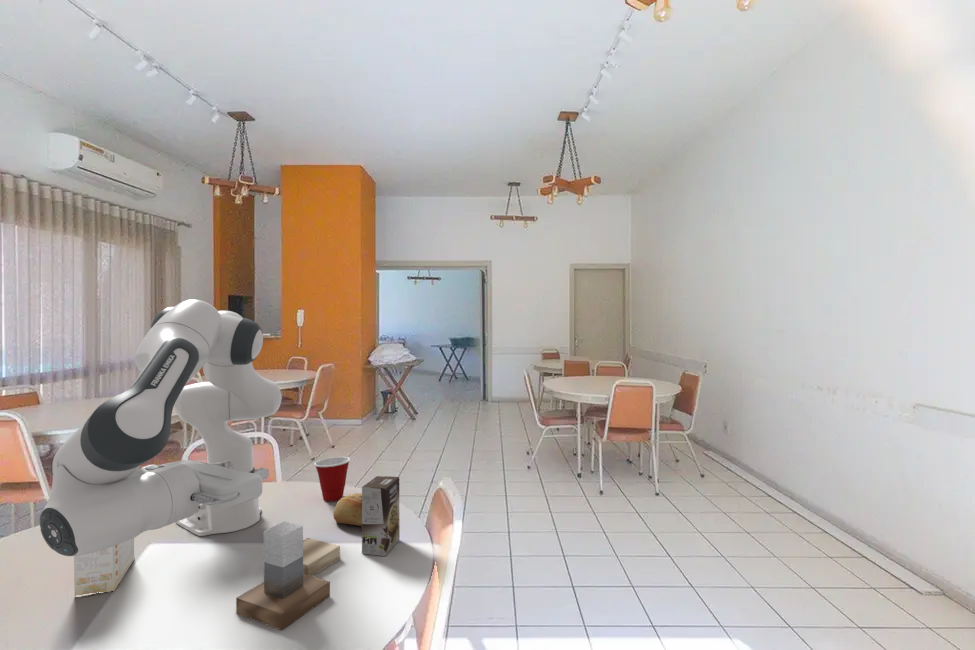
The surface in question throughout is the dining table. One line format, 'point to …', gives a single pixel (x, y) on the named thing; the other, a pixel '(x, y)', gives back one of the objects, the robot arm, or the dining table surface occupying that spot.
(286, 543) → the grey tall rectangular block
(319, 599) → the walnut stand
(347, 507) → the bread roll
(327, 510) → the dining table surface
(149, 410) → the robot arm
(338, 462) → the plastic cup
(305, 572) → the birch stand
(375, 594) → the dining table surface
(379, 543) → the coffee box
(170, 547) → the dining table surface
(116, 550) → the coffeecake box
